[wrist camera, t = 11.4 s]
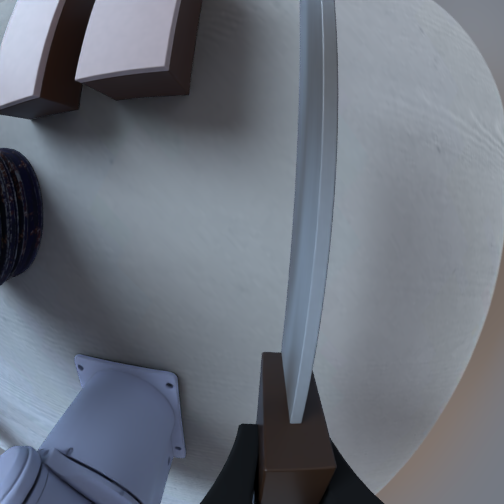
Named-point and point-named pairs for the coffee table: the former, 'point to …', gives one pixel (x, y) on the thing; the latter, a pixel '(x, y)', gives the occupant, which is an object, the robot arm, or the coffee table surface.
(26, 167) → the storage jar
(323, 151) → the knife
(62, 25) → the block
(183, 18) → the cake slice
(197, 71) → the coffee table surface
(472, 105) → the coffee table surface
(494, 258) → the coffee table surface
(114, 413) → the robot arm
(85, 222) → the coffee table surface
